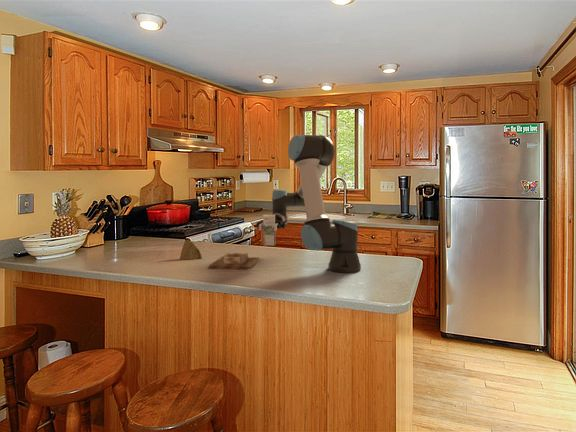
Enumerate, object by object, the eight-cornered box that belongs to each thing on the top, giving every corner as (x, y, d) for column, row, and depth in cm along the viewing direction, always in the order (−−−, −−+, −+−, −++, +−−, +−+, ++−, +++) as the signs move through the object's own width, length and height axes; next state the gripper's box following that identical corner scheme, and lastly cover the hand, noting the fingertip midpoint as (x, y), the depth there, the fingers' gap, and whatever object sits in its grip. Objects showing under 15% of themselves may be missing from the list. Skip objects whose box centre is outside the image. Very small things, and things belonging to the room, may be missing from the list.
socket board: (259, 260, 225) (259, 251, 224) (250, 269, 205) (249, 260, 204) (221, 259, 228) (221, 250, 227) (209, 268, 208) (208, 259, 208)
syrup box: (275, 243, 211) (275, 213, 209) (275, 246, 205) (275, 215, 204) (263, 243, 211) (263, 214, 209) (263, 246, 205) (262, 215, 203)
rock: (206, 252, 234) (189, 249, 237) (202, 241, 228) (185, 238, 231) (197, 268, 227) (180, 264, 229) (193, 257, 221) (175, 253, 223)
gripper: (294, 228, 224) (288, 236, 201) (257, 228, 227) (246, 235, 204) (294, 214, 223) (287, 220, 200) (257, 213, 226) (246, 219, 203)
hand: (267, 227), depth 202 cm, fingers closed on syrup box, 6 cm apart
